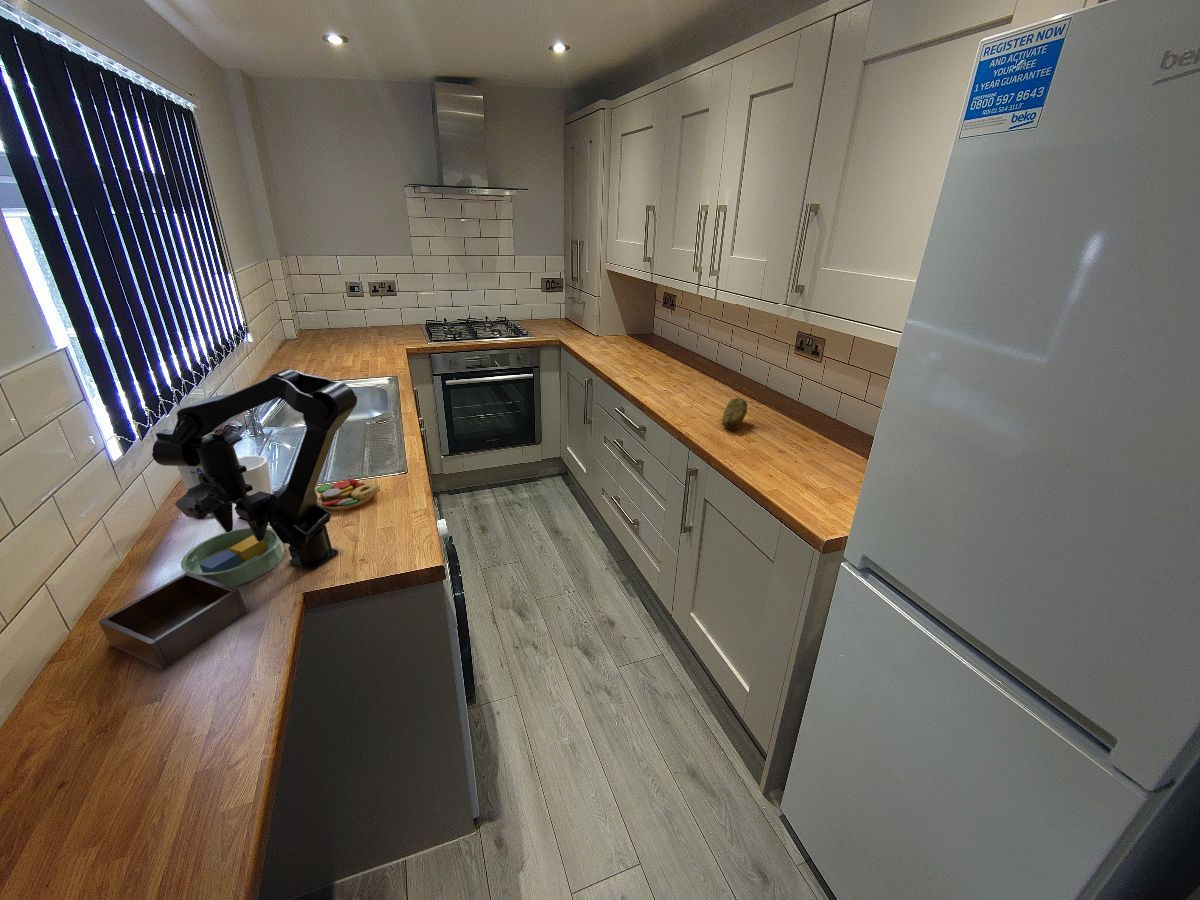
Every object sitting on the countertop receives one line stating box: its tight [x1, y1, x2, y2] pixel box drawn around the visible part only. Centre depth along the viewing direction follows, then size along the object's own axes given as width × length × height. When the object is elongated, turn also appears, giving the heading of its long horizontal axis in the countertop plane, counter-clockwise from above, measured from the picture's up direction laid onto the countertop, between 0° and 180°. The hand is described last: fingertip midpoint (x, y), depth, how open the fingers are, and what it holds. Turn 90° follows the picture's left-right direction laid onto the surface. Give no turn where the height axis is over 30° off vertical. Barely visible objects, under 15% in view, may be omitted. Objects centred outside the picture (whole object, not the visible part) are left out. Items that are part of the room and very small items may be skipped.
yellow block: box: [230, 535, 268, 562], centre depth 106 cm, size 5×4×2 cm
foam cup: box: [237, 454, 274, 496], centre depth 119 cm, size 10×9×13 cm
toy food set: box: [316, 478, 381, 511], centre depth 127 cm, size 13×13×3 cm
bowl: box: [180, 526, 285, 588], centre depth 104 cm, size 16×16×4 cm
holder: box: [97, 572, 248, 671], centre depth 87 cm, size 14×14×5 cm
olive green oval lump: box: [721, 397, 748, 431], centre depth 168 cm, size 8×13×8 cm, turn 139°
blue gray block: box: [199, 550, 241, 573], centre depth 101 cm, size 5×4×2 cm
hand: (244, 535), depth 105 cm, fingers open, 9 cm apart
